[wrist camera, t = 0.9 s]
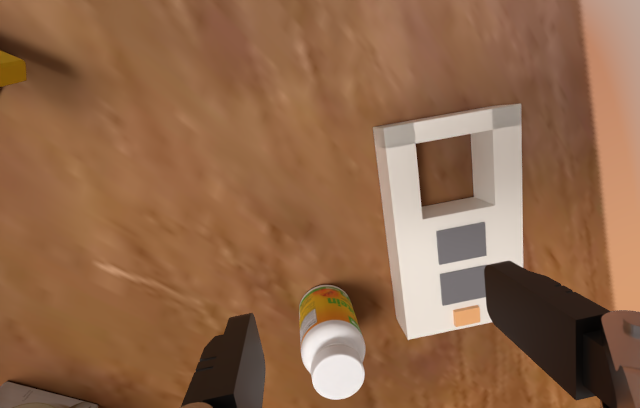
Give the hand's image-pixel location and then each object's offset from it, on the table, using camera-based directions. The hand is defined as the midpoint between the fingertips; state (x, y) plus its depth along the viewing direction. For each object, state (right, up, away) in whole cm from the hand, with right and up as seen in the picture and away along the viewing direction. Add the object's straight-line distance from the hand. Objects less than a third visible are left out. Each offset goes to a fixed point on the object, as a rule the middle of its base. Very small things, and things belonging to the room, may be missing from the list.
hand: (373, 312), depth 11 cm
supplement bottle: (-1, -7, +23) cm, 24 cm away
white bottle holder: (+10, +2, +22) cm, 24 cm away
